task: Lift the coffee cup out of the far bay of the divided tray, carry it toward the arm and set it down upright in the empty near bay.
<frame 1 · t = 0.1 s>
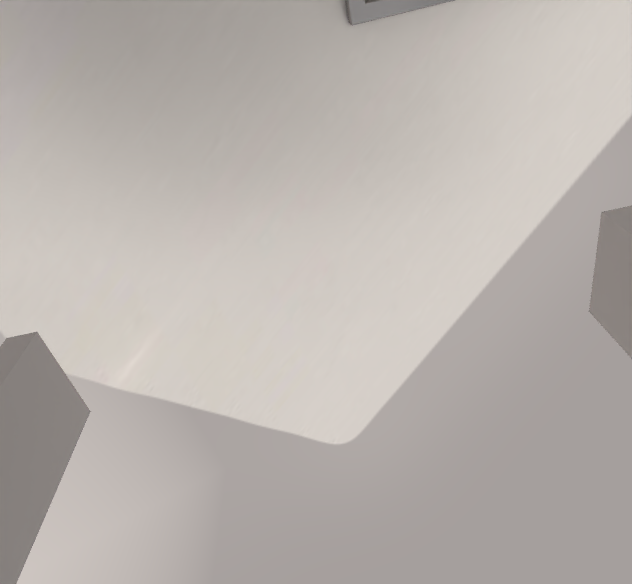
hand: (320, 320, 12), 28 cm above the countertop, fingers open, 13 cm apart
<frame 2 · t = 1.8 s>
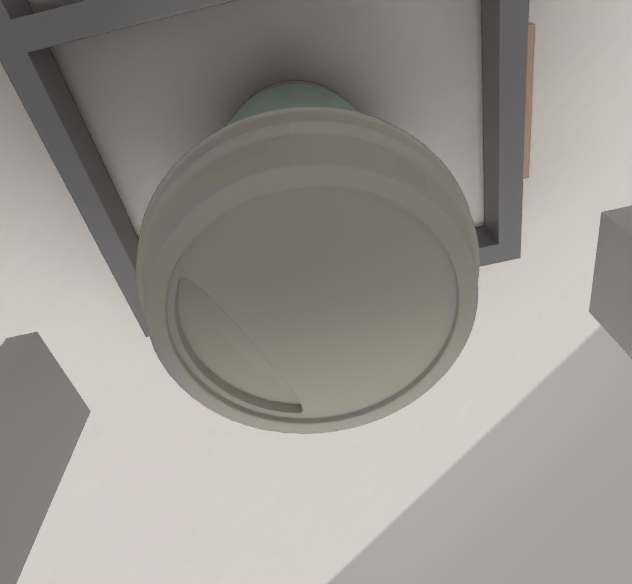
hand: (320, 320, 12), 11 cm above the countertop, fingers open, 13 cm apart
coffee cup: (296, 151, 21), resting in divided tray
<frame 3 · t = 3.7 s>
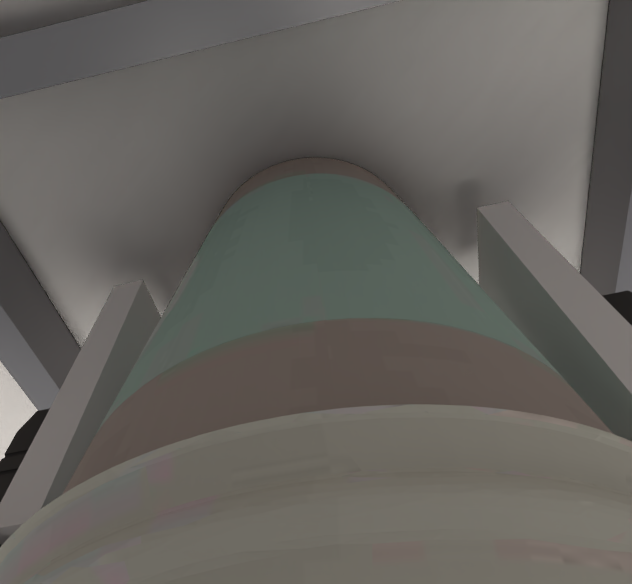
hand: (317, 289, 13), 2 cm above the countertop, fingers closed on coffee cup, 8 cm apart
coffee cup: (312, 251, 15), resting in divided tray, touching gripper
divided tray: (251, 2, 11), on the countertop
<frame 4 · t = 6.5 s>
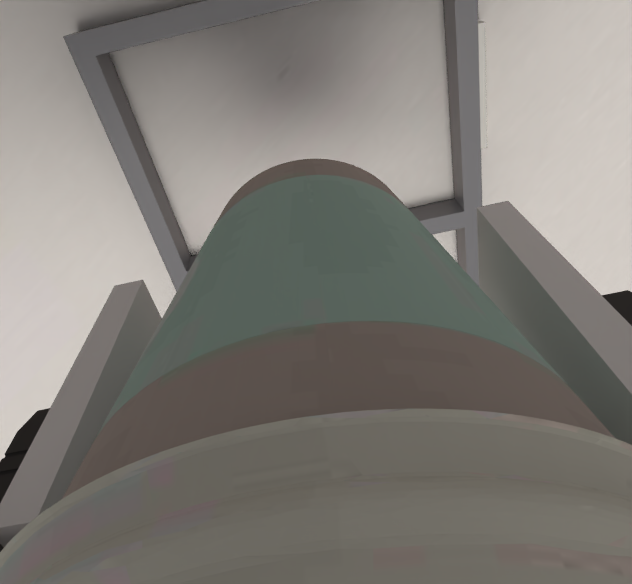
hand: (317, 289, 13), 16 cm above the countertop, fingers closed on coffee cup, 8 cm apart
coffee cup: (312, 252, 15), point 14 cm above the countertop, touching gripper
divided tray: (322, 235, 29), on the countertop
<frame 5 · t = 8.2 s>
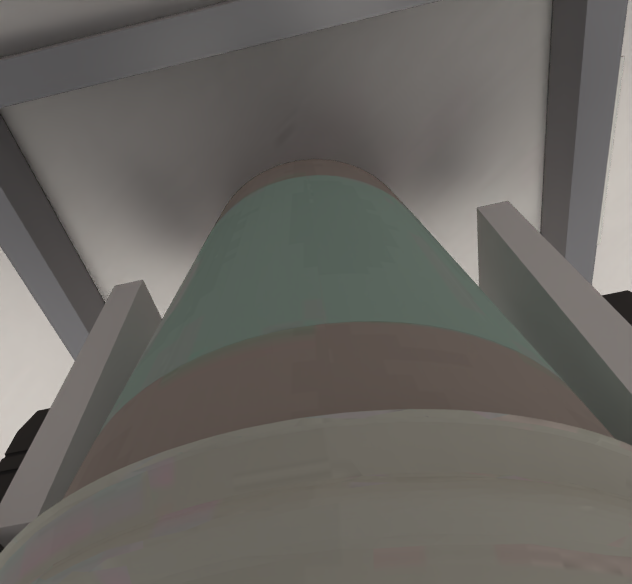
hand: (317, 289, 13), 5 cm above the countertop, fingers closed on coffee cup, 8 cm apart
coffee cup: (313, 252, 15), point 2 cm above the countertop, touching gripper
divided tray: (340, 355, 20), on the countertop
when the fingers open (3 cm above the countertop, at t = 9.4 s): coffee cup drops 1 cm, resting in divided tray.
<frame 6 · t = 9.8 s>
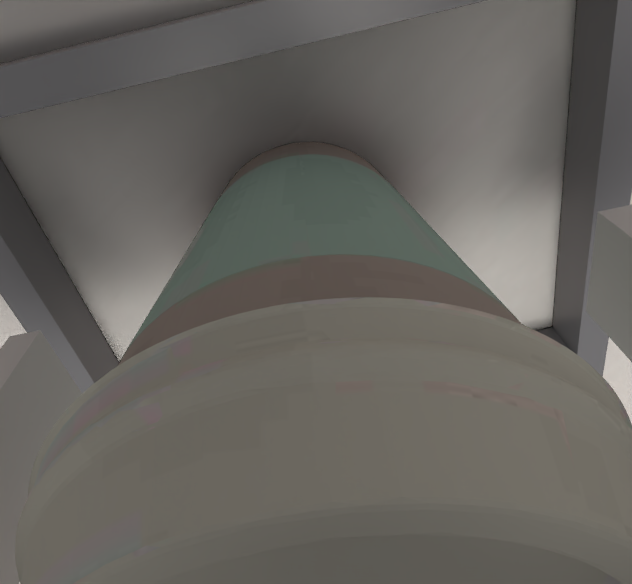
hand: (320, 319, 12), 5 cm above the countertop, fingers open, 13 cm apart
coffee cup: (307, 229, 16), resting in divided tray
divided tray: (345, 378, 19), on the countertop
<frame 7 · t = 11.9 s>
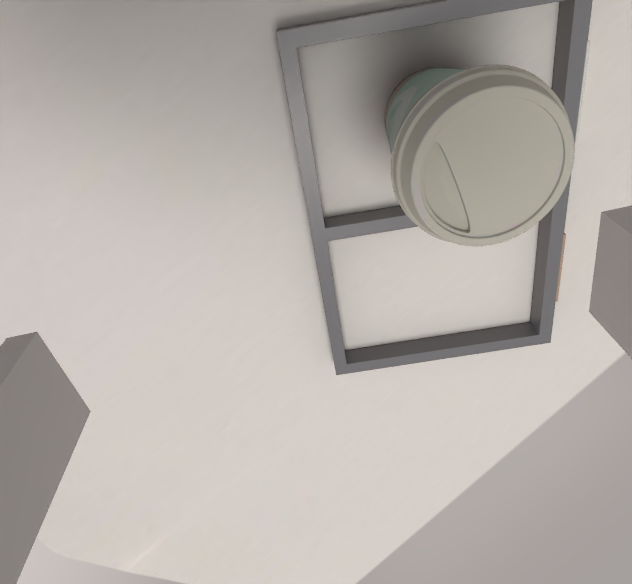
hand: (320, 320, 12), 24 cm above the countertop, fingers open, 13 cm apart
coffee cup: (427, 115, 33), resting in divided tray
divided tray: (432, 206, 36), on the countertop
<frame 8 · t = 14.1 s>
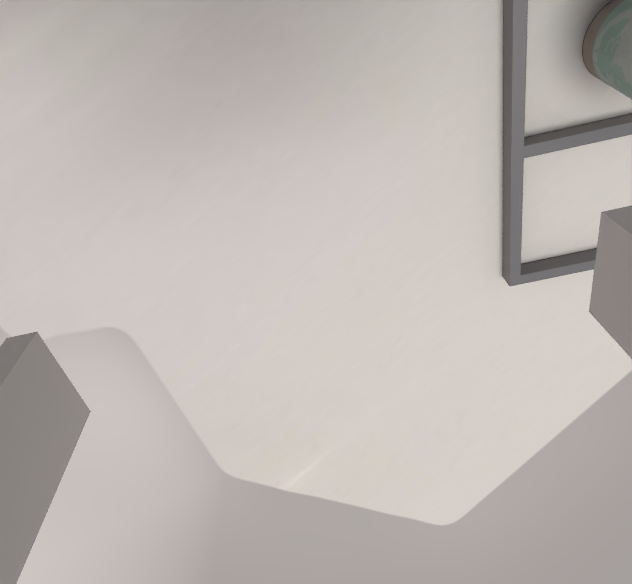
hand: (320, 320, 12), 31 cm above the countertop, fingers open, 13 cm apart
coffee cup: (619, 38, 37), resting in divided tray
divided tray: (611, 124, 41), on the countertop
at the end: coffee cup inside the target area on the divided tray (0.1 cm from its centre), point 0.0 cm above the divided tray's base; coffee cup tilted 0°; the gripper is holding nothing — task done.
